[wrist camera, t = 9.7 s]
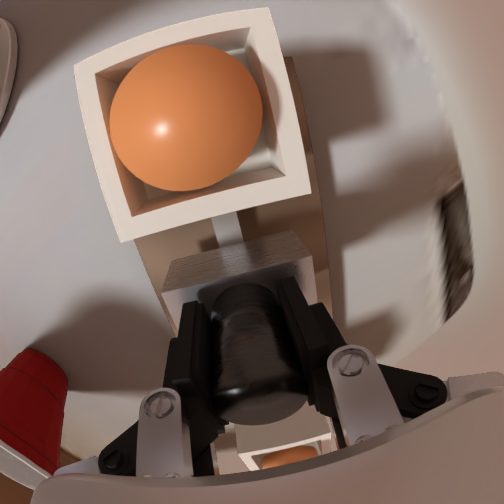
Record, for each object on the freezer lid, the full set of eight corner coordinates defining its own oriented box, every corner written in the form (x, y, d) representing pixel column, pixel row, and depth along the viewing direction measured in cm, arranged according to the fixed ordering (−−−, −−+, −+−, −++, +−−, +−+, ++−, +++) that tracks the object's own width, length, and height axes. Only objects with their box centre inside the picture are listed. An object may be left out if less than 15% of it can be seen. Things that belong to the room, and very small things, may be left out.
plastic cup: (114, 390, 20) (89, 506, 10) (63, 411, 22) (38, 495, 11) (24, 306, 16) (-48, 414, 5) (-8, 347, 18) (-54, 426, 7)
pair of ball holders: (143, 96, 12) (73, 65, 5) (242, 69, 12) (268, 7, 5) (245, 399, 22) (256, 478, 15) (305, 385, 22) (330, 460, 15)
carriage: (171, 260, 13) (137, 381, 6) (292, 229, 13) (363, 329, 6) (194, 318, 15) (186, 441, 8) (302, 291, 15) (357, 403, 8)
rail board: (106, 111, 12) (87, 108, 10) (284, 63, 12) (296, 51, 10) (220, 404, 22) (222, 426, 20) (329, 377, 22) (338, 398, 20)
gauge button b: (255, 453, 13) (260, 481, 11) (315, 440, 13) (323, 467, 11) (266, 470, 15) (270, 493, 13) (317, 458, 15) (324, 481, 13)
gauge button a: (122, 86, 7) (97, 74, 5) (238, 52, 7) (243, 30, 5) (150, 192, 8) (132, 209, 6) (263, 162, 8) (276, 170, 6)
